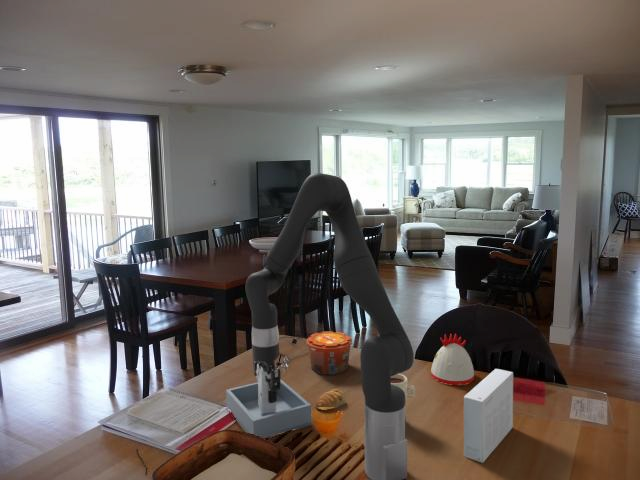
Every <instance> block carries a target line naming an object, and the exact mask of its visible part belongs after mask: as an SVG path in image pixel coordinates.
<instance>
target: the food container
mask: <svg viewBox="0 0 640 480" xmlns="http://www.w3.org/2000/svg"><path fill="white" fill-rule="evenodd" d="M306 345H307V347H308V355H309V359H310V367H311V369H312V370H313V371H314V372H316V373H318V374H321V375H337V374H341V373H344V372H345V371H346V370H347V369H348V367H349V360H350V352H351V346H352V345H353V338H351V337H350V336H349V335H347V334H346V333H343V332H341V331H336V332H334V331H332V330H331V331H330V330H329V331H326V330H325V331H321V332H315V333H313V334H311V335H310V336H309V337H308V338H307V339H306Z"/></svg>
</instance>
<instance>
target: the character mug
mask: <svg viewBox="0 0 640 480" xmlns="http://www.w3.org/2000/svg"><path fill="white" fill-rule="evenodd" d="M408 380H409V379H408V377H407V376H406V375H404V374H402V373H399V374H396V375H393V376H391V384H392V385H395V386H397V387H399V388H401V389H402V390H403V391H404V393H405V403H406V402H407V400H408V398H414V397H415V396H416V395H415V394H416V393H415V392H416V388H415V386H414V385H409V384H408V383H409V381H408ZM409 390H410V393H408V392H409ZM406 419H407V418H406V416H405V422H406V421H407V420H406Z"/></svg>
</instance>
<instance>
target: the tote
mask: <svg viewBox="0 0 640 480" xmlns="http://www.w3.org/2000/svg"><path fill="white" fill-rule="evenodd" d="M276 395H277V401H276V411H273V412H268V413H261V411H260V408H259V405H258V381H256V382H253V383H249V384H245V385H241V386H237V387H236V386H235V387H232V388H228V389H225V399H226V400H225V404H226V408H227V407H228V408H229V409H230V410H231V412H232V413H233V415H234V417H235V418H236V420H237V421H236V420H235V421H236V422H237V424H238V426H240V427H241V428H242V430H243V431H244V432H245V433H246V432H247V433H250V434H254V435H256V436H260V437H263V438H265V437H266V438H267V437H269V436H273V435H276V434H278V433H282V432H285V431H289V430H292V429H297V430H300V429H304V428H306V427H310V426H312V404H311V403H309V402H308V401H307V400H306V399H305V398H303V396H302V395H300V394H299V393H298V392H297V391H296V390H294V389H293V388H292V387H291V386H289V385H288V384H287V383H286V382H285V381H284V380H282V379H281V378H280V389H279V390H276ZM234 417H233V418H234ZM247 433H246V434H247Z"/></svg>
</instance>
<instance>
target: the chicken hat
mask: <svg viewBox="0 0 640 480" xmlns="http://www.w3.org/2000/svg"><path fill="white" fill-rule="evenodd" d="M439 338H440V341H441V343H442V346H441V347H440V349H438V351H437V352H436V354H435V355H434V359H433V361H432V364H431V367H430V369H431V370H430V376H431V375H432V377H433V378H434V379H436V380H438V381H439V382H443V383H447V384H452V385H459V384H466V383H470V382H472V381H473V380H474V379H475V371H474V365H473V363H472V359H471V357H470V355H469V353H468V352H467V349H465V347H464V346H465V344H466V339H464V340H463V342H461V341H462V337H461V336H459V337H458V336H457V334H456V333H455V334H454V336H453V335H452V333H450V335H449V339H448V337H447V334H446V333H445V334H444V339H442V337H439ZM432 377H431V378H432ZM433 378H432V379H433ZM434 379H433V380H434ZM439 382H438V383H439ZM473 382H474V381H473ZM473 382H472V383H473ZM470 384H471V383H470ZM452 385H451V386H452Z"/></svg>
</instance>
